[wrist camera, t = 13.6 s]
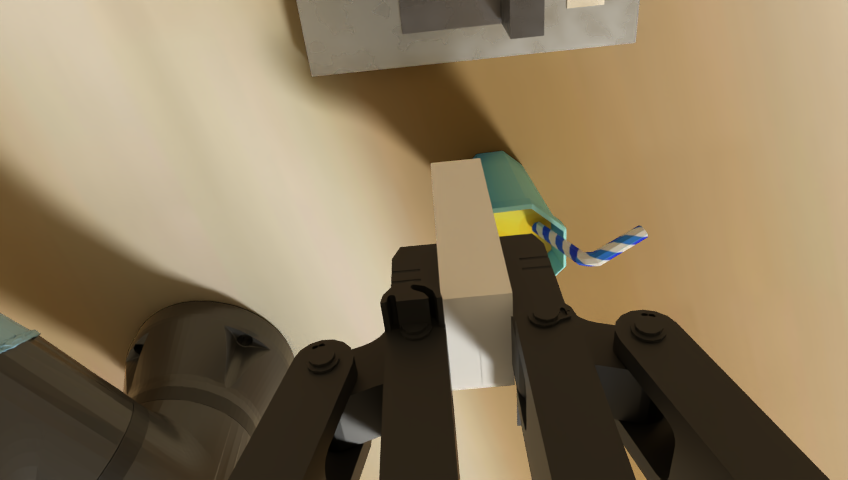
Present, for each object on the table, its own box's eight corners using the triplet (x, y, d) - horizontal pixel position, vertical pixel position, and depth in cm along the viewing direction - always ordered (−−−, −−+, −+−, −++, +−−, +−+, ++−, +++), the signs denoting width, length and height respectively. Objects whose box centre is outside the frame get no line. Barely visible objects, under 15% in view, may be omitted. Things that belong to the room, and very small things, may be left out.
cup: (564, 91, 44) (628, 186, 31) (601, 173, 48) (671, 287, 35) (401, 177, 48) (399, 294, 35) (447, 247, 51) (461, 376, 39)
